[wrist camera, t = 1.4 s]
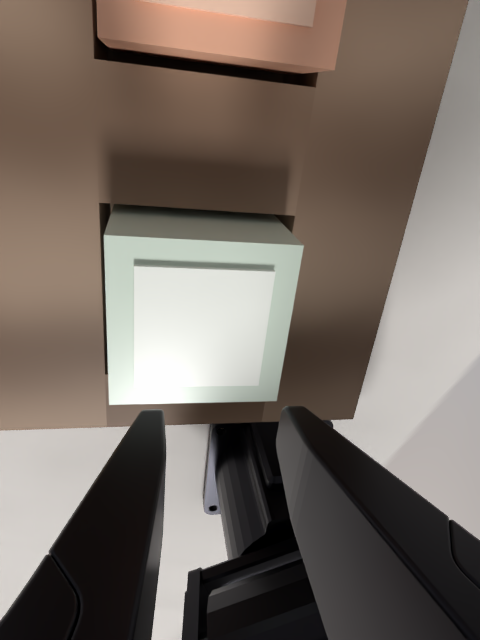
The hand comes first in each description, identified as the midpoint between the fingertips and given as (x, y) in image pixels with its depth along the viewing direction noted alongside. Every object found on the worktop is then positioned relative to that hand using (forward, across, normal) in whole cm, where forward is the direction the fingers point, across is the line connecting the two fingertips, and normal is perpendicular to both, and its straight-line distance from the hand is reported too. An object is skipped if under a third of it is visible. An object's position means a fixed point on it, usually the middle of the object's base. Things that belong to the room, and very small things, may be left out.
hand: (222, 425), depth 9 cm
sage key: (+8, 0, 0) cm, 8 cm away
